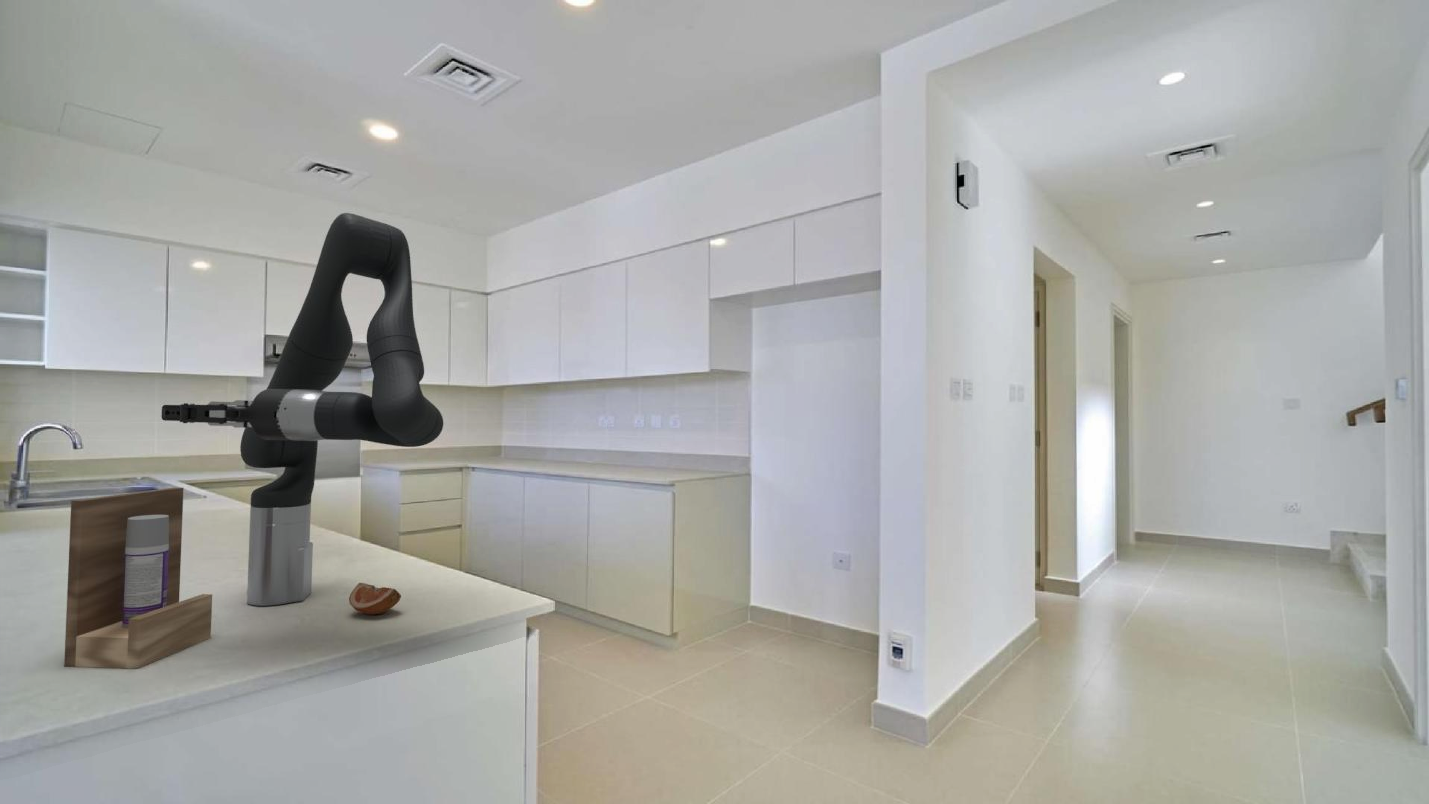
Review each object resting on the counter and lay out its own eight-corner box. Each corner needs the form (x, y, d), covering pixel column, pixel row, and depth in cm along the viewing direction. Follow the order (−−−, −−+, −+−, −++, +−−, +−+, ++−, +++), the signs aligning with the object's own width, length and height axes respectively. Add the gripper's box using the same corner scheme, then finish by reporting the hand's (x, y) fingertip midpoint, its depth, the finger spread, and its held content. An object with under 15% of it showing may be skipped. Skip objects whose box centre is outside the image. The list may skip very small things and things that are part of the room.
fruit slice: (408, 612, 111) (409, 583, 111) (375, 623, 105) (376, 593, 105) (373, 606, 114) (374, 578, 114) (339, 617, 108) (340, 587, 108)
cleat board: (231, 628, 101) (236, 488, 102) (137, 668, 85) (144, 502, 86) (168, 627, 101) (174, 487, 102) (64, 666, 85) (71, 500, 86)
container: (139, 617, 93) (144, 514, 94) (174, 617, 94) (178, 514, 94) (112, 628, 89) (117, 519, 89) (149, 627, 89) (153, 519, 89)
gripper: (329, 391, 101) (227, 389, 101) (264, 387, 87) (146, 384, 87) (327, 439, 101) (226, 436, 101) (262, 442, 86) (144, 440, 87)
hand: (189, 412), depth 94 cm, fingers open, 8 cm apart
